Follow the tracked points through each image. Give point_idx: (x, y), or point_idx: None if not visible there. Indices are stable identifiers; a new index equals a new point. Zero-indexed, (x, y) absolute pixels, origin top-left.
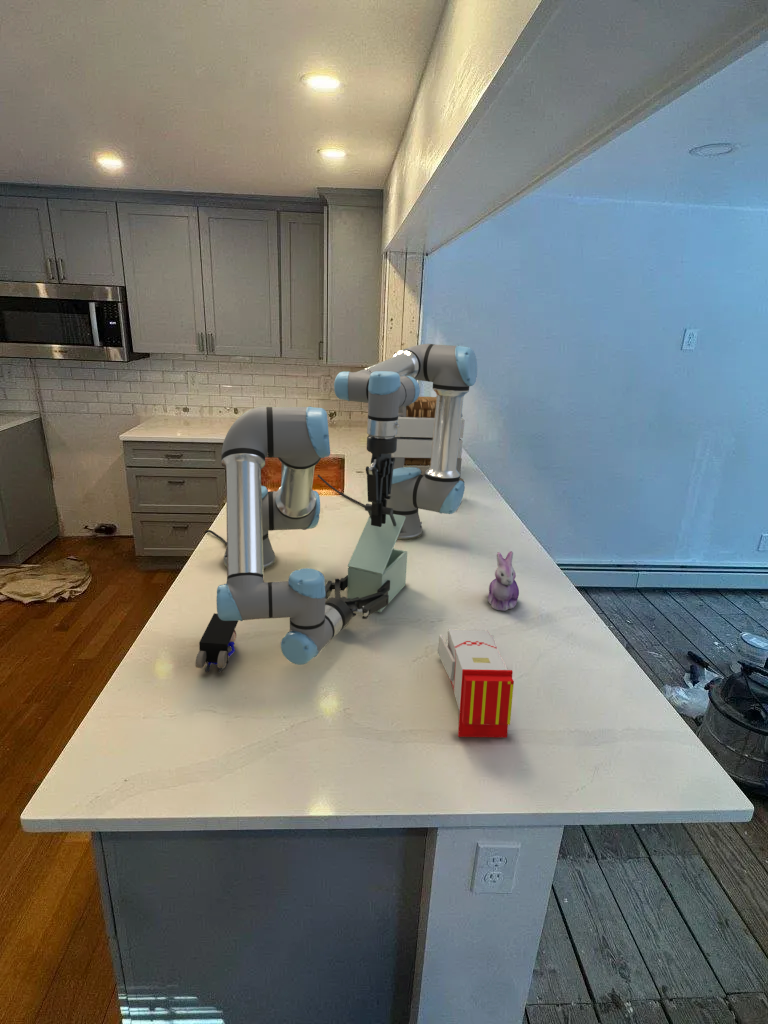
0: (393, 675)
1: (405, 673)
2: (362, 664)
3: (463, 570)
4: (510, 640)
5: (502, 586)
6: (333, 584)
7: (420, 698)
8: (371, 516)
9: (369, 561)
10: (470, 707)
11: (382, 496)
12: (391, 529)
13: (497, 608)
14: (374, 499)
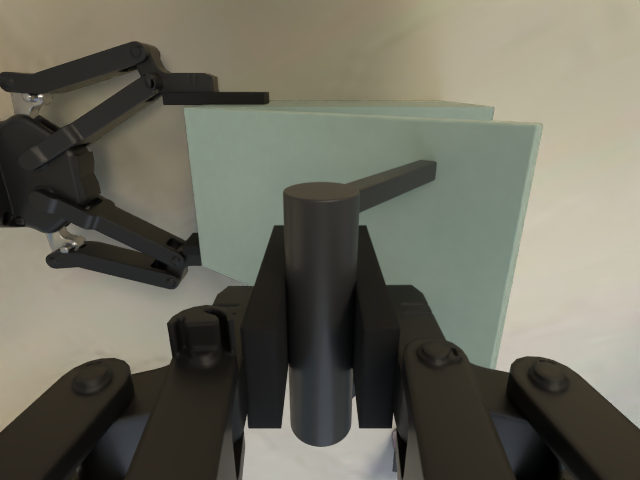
0: (27, 337)
1: (50, 353)
2: (11, 270)
3: (592, 325)
4: (283, 475)
5: None
6: (140, 71)
7: (5, 397)
8: (266, 251)
9: (220, 206)
10: None
11: (398, 411)
12: None
13: (394, 440)
14: (78, 471)
